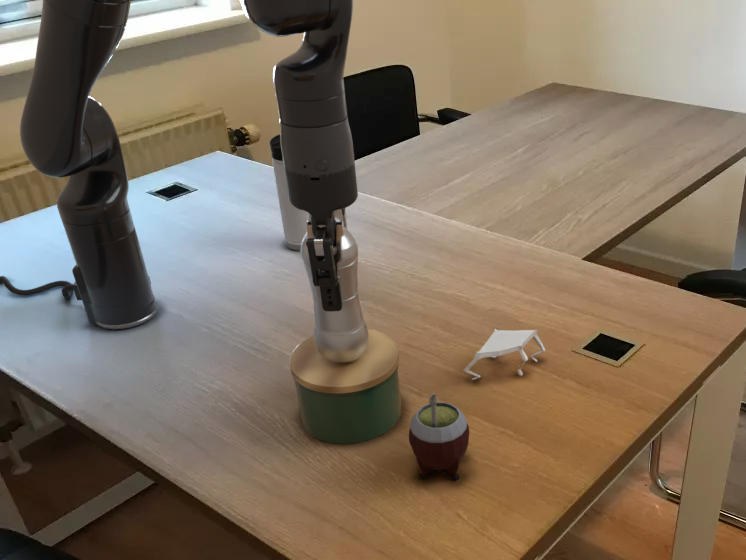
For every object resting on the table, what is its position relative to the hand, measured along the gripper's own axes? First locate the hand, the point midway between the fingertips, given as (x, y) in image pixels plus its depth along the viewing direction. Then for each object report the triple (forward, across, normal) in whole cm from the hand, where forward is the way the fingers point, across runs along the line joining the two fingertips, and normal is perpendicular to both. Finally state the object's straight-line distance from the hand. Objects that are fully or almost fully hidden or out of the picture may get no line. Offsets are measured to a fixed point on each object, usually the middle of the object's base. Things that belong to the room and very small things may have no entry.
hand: (336, 294), depth 96 cm
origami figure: (+18, -9, +20) cm, 28 cm away
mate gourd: (+18, +12, +12) cm, 25 cm away
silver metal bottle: (+9, 0, 0) cm, 9 cm away
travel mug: (+18, -52, -14) cm, 57 cm away
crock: (+18, 0, 0) cm, 18 cm away
